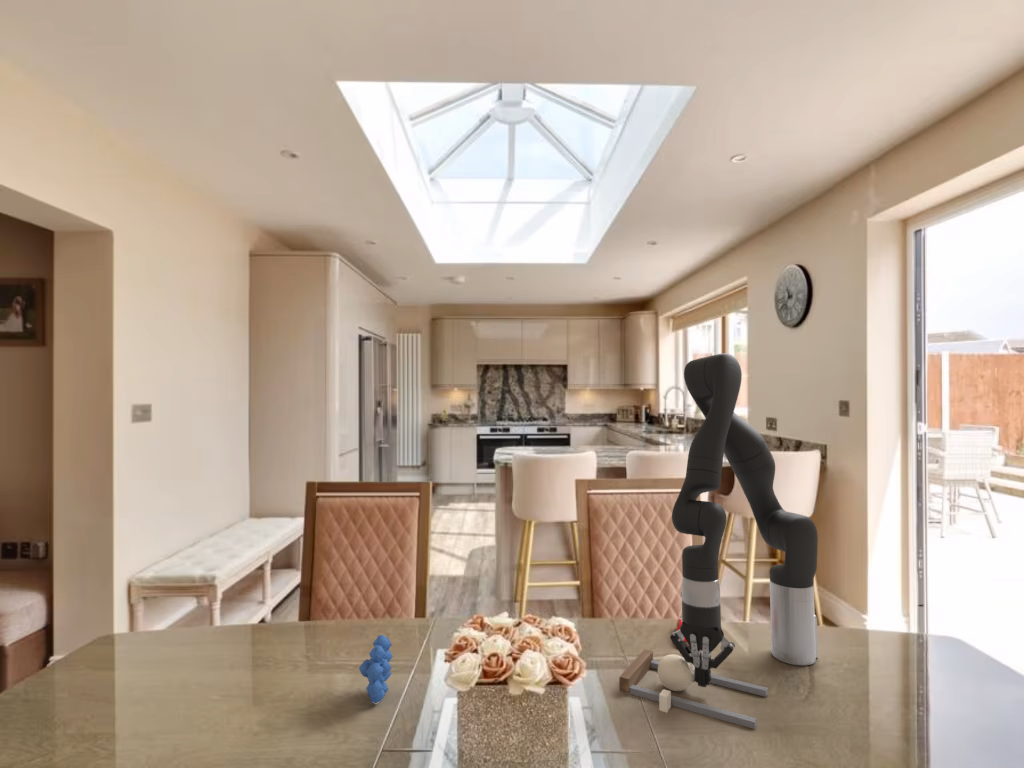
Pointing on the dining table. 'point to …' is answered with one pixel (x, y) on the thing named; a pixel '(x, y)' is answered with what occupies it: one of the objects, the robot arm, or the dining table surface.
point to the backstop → (635, 671)
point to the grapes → (377, 668)
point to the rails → (704, 708)
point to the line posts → (667, 698)
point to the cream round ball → (675, 672)
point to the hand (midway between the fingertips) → (702, 684)
